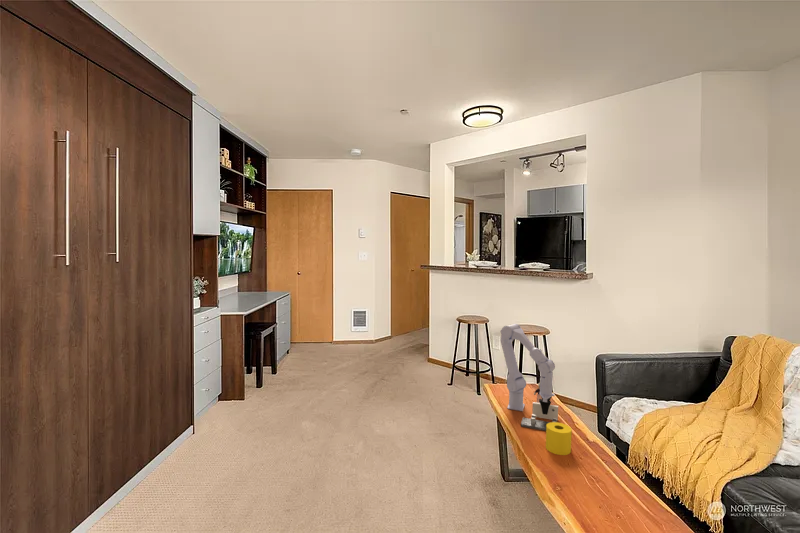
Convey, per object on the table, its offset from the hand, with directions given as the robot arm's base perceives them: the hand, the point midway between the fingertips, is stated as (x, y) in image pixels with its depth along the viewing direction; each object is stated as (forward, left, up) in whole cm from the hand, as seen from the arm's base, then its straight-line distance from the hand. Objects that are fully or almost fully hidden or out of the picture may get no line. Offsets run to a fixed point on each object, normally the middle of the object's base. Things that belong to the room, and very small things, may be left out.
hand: (545, 411), depth 201 cm
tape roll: (+30, +7, -4) cm, 31 cm away
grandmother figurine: (-15, -3, -4) cm, 16 cm away
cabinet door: (0, 0, -4) cm, 4 cm away
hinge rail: (+11, 0, -3) cm, 11 cm away
